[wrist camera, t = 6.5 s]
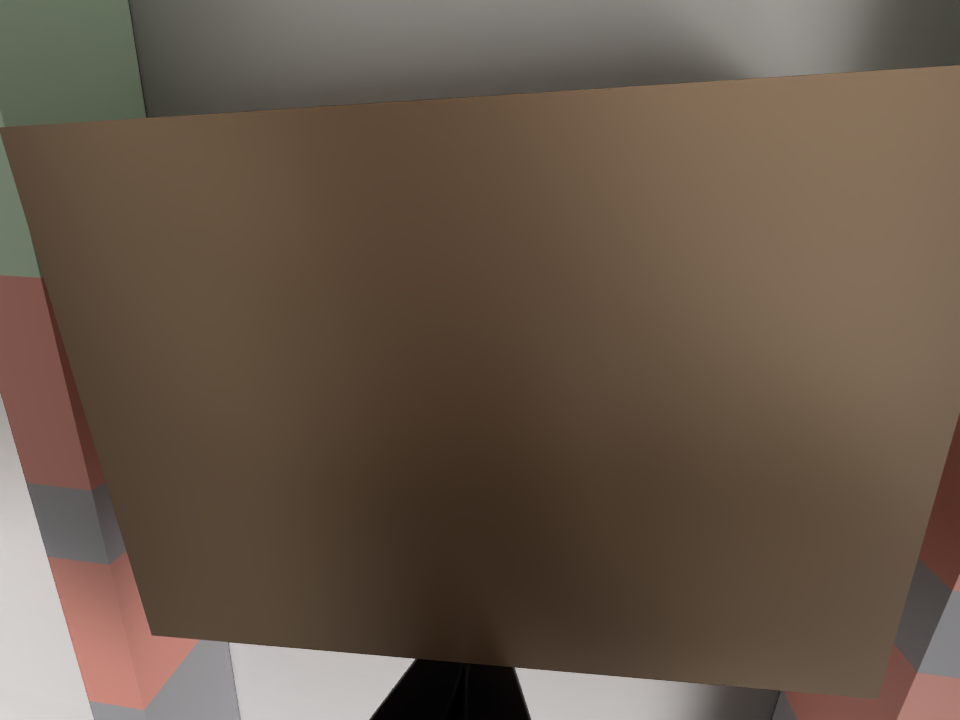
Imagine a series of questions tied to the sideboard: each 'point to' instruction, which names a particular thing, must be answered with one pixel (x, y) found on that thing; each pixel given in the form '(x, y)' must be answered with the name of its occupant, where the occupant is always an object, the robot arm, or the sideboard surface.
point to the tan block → (523, 368)
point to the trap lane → (82, 488)
